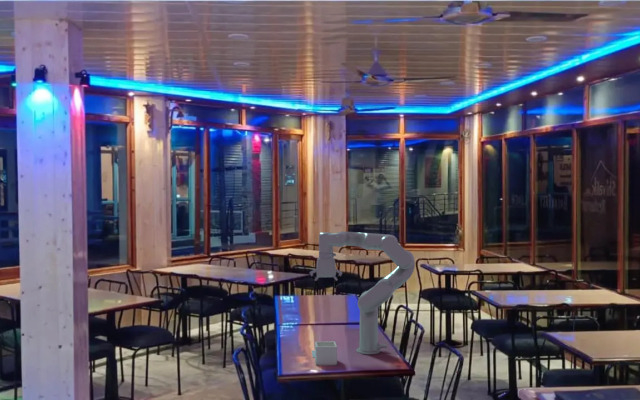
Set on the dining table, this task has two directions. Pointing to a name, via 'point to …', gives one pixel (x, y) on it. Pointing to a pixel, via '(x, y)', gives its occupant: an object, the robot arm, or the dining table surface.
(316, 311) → the dining table surface
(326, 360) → the storage box
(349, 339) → the dining table surface
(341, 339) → the dining table surface
